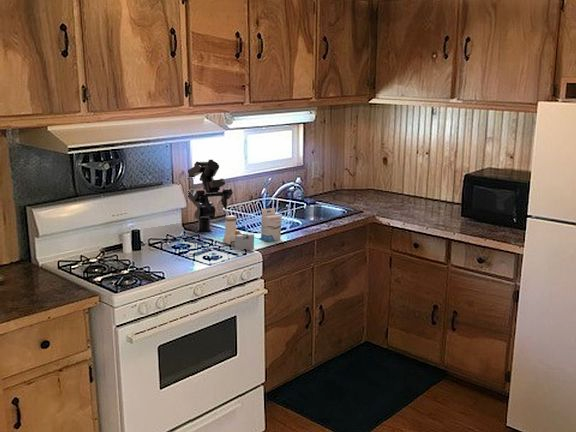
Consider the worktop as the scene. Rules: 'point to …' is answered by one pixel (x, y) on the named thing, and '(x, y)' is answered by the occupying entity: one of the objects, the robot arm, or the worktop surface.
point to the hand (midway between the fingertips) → (218, 209)
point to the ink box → (270, 225)
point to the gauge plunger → (240, 234)
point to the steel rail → (231, 242)
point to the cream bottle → (230, 229)
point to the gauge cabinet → (244, 242)
